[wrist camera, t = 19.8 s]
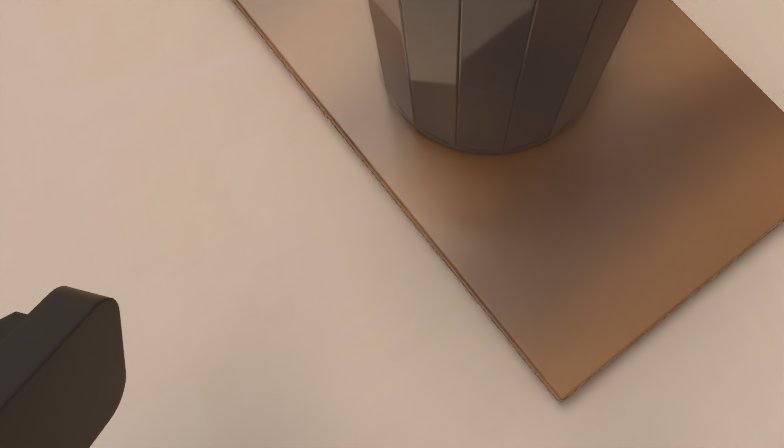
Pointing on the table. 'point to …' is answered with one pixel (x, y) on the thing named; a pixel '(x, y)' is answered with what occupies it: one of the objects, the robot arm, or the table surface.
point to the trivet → (567, 181)
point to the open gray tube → (494, 65)
